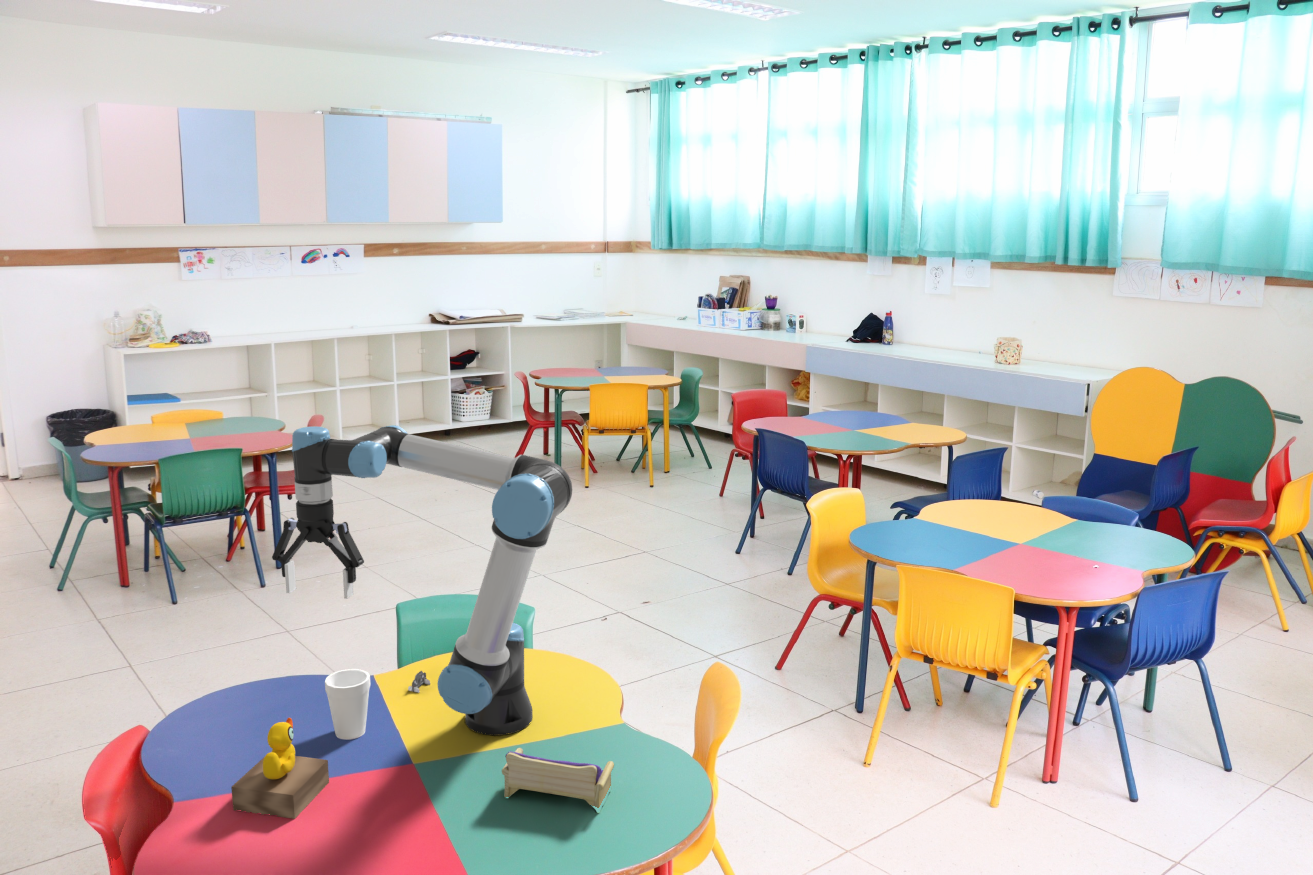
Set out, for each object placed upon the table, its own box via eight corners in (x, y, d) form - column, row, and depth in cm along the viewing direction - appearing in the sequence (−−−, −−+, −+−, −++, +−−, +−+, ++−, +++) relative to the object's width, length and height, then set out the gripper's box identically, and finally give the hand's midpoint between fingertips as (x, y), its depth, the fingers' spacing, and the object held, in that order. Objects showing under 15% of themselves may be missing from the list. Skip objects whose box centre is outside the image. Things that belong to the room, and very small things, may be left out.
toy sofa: (614, 791, 206) (615, 745, 204) (602, 815, 198) (602, 767, 195) (517, 776, 211) (516, 731, 209) (501, 799, 202) (500, 752, 200)
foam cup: (378, 723, 231) (376, 670, 228) (363, 744, 222) (360, 689, 219) (338, 721, 232) (335, 667, 229) (321, 741, 223) (317, 686, 220)
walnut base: (329, 782, 207) (327, 759, 206) (294, 818, 195) (293, 795, 194) (270, 774, 210) (269, 752, 208) (233, 810, 197) (231, 786, 196)
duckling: (279, 756, 207) (276, 711, 205) (305, 757, 207) (302, 712, 205) (255, 787, 196) (252, 740, 194) (283, 788, 196) (280, 741, 194)
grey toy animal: (423, 698, 244) (423, 680, 243) (399, 693, 247) (399, 676, 246) (456, 672, 258) (456, 655, 257) (433, 667, 260) (433, 651, 259)
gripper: (251, 500, 216) (258, 594, 221) (360, 508, 211) (365, 605, 216) (270, 491, 223) (277, 582, 228) (376, 498, 219) (381, 592, 223)
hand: (319, 593), depth 222 cm, fingers open, 13 cm apart
